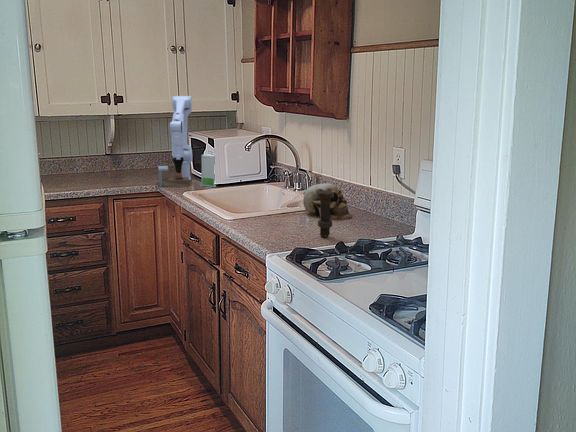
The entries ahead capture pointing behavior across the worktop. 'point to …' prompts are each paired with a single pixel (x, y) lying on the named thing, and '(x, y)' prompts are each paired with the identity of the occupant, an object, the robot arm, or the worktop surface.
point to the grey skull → (336, 205)
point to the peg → (179, 174)
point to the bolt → (325, 212)
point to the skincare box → (208, 170)
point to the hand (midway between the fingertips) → (178, 172)
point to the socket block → (175, 181)
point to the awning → (160, 169)
